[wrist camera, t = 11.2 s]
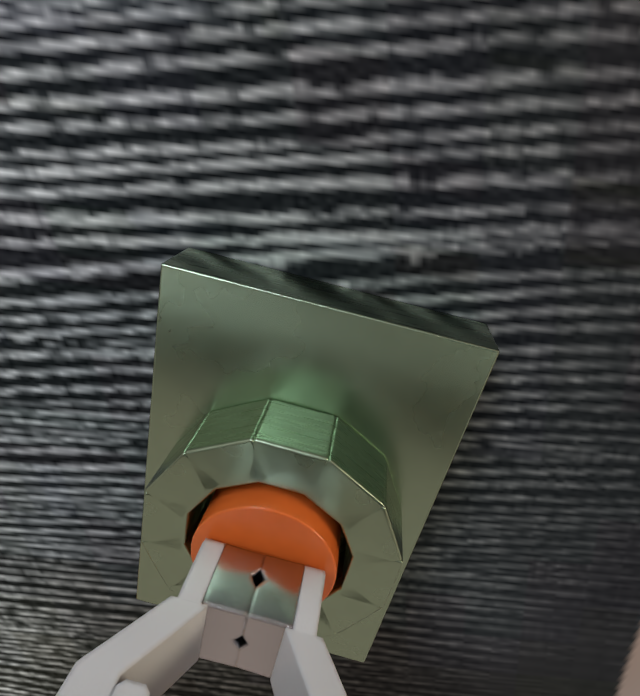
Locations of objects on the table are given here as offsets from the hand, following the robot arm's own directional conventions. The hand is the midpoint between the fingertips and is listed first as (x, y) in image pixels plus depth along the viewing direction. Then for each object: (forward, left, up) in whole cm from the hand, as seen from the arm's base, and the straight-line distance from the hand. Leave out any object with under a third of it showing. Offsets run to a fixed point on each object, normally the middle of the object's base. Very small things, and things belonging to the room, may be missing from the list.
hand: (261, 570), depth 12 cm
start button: (0, 0, -2) cm, 2 cm away
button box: (0, 0, -4) cm, 4 cm away
